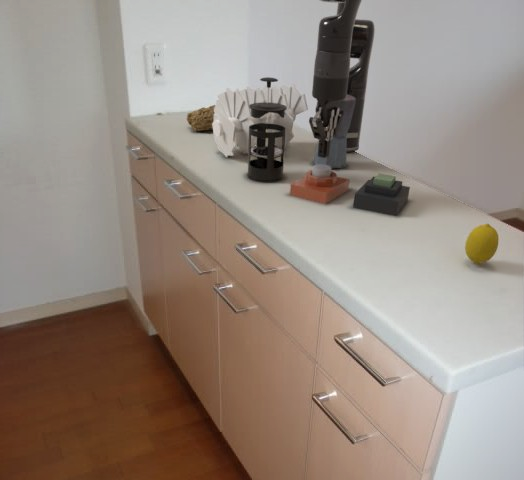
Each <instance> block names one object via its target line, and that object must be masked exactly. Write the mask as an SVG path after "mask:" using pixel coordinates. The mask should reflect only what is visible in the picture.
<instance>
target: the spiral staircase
mask: <svg viewBox="0 0 524 480" xmlns="http://www.w3.org/2000/svg"><path fill="white" fill-rule="evenodd" d="M217 98H218V99H217V100H216V102H215V104H214V105H215V108H214V113H215V114H214V122H213V123H212V127H213V129H212V132H213V138H214V141H215V143H216V146H217V148H218V150H219V152H221V154H223V156H225V158H227V159H228V158H229V156H232V157H233V156H235V148H236V147H237V148H238V149H239V150H240V151H241V152H242V153H243V154H244V155H246V154H248V145H249V126H250V125H253V124H257V123H267V114H265V115H263V116H262V117H260V118H254V117H252V116H251V109H250V108H249V105H250V104H254V103H267V101H268V88H267V86H265V85H263V86H262V89H261V90H260V87H258V88H256V89H255V88H253V86H250V85H249V84H248V85H246V88H244V89H242V90H239V88H236V89H235V91H234V90H233V89H231V88H229V87H226V88H225V91H223V92H221V93H220V94H218V95H217ZM269 103H278V104H282V105H285V106H286V107H287V109H286V110H285V113H284V118H282V117H281V116H280V115H279V114H278V113H271V112H269V113H268V124H277V125H281V126H283V127H285V146H284V149H286V148H287V149H288V148H291V143H290V142H291V141H292V140H293V138H294V137H295V134H294V132H293V127H294V122H295V121H296V119H297V115H300V114H302V113H304V112H306V111H308V110H309V107H308V102H307V98H306V94H305V93H302V94H301V92H300V91H299V90H298V87H297V86H296V84H292V85H291V86H290V85H288V84H286V83H282V84H281V87H279V88H277V87H276V85H272V87H271V88H269ZM255 131H257V130H255ZM268 132H280V131H278V130H273V129H268ZM254 146H256V147H257V137H255V136H252V135H251V149H252V148H255V147H254ZM265 146H266V142H265ZM267 146H268V139H267ZM275 146H276V147H277V148H278V149H281V150H282V137H279V138H275Z"/></svg>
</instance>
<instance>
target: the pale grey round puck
mask: <svg viewBox="0 0 524 480" xmlns="http://www.w3.org/2000/svg"><path fill="white" fill-rule="evenodd" d="M311 170H312V175H313V176H315V177H321V178H326V177H330V176H331V171H332V168H331V167H330V166H328V165H324V164H317V165H316V164H314V165H313V166H312V168H311Z"/></svg>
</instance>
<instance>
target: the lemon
mask: <svg viewBox="0 0 524 480" xmlns="http://www.w3.org/2000/svg"><path fill="white" fill-rule="evenodd" d="M498 247H499V234H498V232H497V230H496V229H495V228H494V227H493V226H491V225H490V223H485V224H480V225H478V226H476V227H474V228H472V230H471V231H470V233H469V234H468V236H467V239H466V241H465V245H464V248H465V249H464V250H465V254H466V256H467V258H468V259H469V260H470V261H471V262H473V264H474V265H479V264H482V263H483V264H484V263H486V262H488V261H490V260H491V259H492V258H493V257H494V256H495V254H496V253H497V250H498Z"/></svg>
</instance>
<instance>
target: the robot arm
mask: <svg viewBox="0 0 524 480" xmlns="http://www.w3.org/2000/svg"><path fill="white" fill-rule="evenodd" d="M319 1H320V2H323V3H337V7H336V13H335V15H329V16H324V17H323V18H321V19H320V21H319V24H318V31H317V44H316V53H315V57H314V63H313V64H314V65H313V78H312V91H311V96H312V98H314V99H316V101H317V102H316V105H315V106H316V107H315V114H314V117H313V116H309V119H308V123H309V126H310V130H311V132H312V135H313V139H316V140H318V141H319V146H318V156H319V157H322V158H326V157H328V156H329V150H330V141H331V140H332V138H333V135H334V136H335V135H336V133H337V131H338V128H339V125H340V123H341V120H342V118H343V115H344V110H340V100H344V99H345V98H346V96H347V94H348V95H351V96H353V97H355V99H356V103H355V107H354V111H353V115H352V119H351V123H350V127H349V129H348V132H347V136H346V138H347V148H346V153H351V152H357V151H358V150H359V148H360V137H361V131H362V123H363V117H364V108H365V102H366V101H365V100H366V94H367V93H366V92H367V84H368V77H369V69H370V62H371V56H372V51H373V47H374V41H375V33H376V32H375V31H376V28H375V24H374V22H373V21H372V20H370V19H357V16H358V15H357V14H358V12H359V9H360V6H361V3H362V1H363V0H319ZM351 59H355V60H357V59H358V61H357V62H356V64H354V65H353V66H351Z"/></svg>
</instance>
